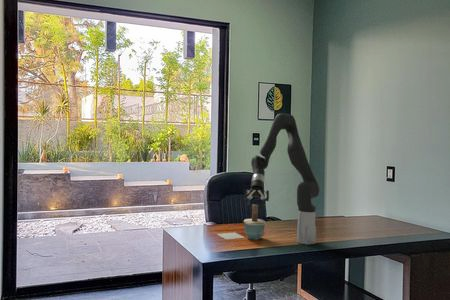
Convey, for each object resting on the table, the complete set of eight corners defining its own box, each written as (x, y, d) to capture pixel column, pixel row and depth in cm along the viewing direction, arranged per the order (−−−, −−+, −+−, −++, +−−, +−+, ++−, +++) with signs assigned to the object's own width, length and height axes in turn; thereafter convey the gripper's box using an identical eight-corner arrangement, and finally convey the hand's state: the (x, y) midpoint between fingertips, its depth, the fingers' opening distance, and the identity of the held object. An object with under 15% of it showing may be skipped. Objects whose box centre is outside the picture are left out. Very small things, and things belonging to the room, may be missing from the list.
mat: (245, 238, 213) (245, 237, 213) (225, 239, 207) (225, 239, 207) (234, 233, 223) (234, 232, 223) (216, 234, 218) (216, 234, 218)
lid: (269, 224, 209) (270, 206, 209) (251, 225, 204) (251, 207, 203) (257, 220, 220) (258, 202, 220) (239, 221, 214) (240, 203, 214)
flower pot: (243, 239, 210) (244, 223, 210) (249, 236, 218) (250, 220, 218) (258, 241, 206) (258, 225, 206) (264, 238, 214) (265, 222, 214)
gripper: (245, 178, 225) (242, 200, 214) (269, 179, 222) (268, 202, 211) (246, 186, 230) (243, 208, 219) (269, 187, 228) (268, 210, 217)
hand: (255, 205), depth 215 cm, fingers open, 8 cm apart
